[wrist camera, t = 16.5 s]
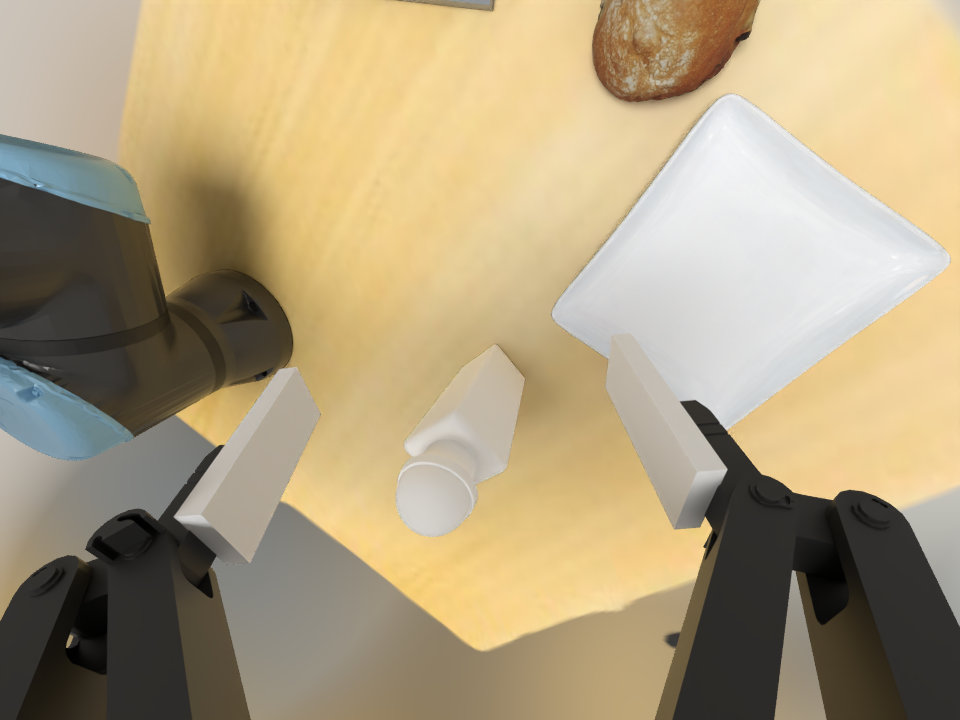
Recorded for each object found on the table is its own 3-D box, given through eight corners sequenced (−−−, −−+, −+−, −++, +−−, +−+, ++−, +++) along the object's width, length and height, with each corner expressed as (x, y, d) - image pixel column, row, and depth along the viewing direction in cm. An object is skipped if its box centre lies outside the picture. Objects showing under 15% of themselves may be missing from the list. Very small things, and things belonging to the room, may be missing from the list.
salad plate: (712, 93, 28) (728, 81, 25) (926, 252, 28) (967, 260, 25) (547, 307, 38) (544, 317, 35) (707, 420, 39) (717, 439, 36)
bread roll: (640, -44, 28) (600, -116, 22) (800, -71, 23) (802, -174, 17) (599, 108, 32) (557, 82, 27) (724, 116, 27) (705, 85, 21)
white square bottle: (456, 366, 43) (355, 507, 24) (496, 337, 40) (418, 472, 21) (490, 405, 44) (419, 570, 25) (532, 380, 41) (488, 544, 22)
